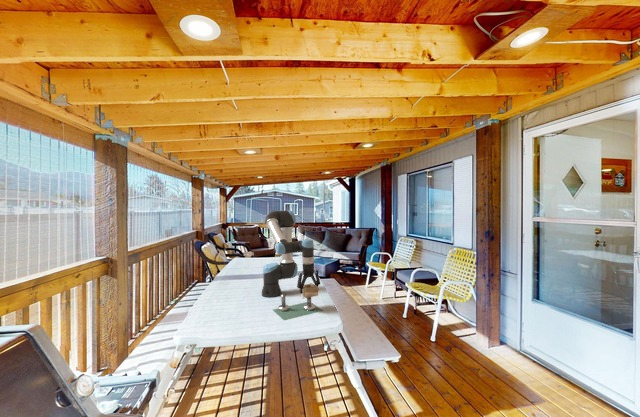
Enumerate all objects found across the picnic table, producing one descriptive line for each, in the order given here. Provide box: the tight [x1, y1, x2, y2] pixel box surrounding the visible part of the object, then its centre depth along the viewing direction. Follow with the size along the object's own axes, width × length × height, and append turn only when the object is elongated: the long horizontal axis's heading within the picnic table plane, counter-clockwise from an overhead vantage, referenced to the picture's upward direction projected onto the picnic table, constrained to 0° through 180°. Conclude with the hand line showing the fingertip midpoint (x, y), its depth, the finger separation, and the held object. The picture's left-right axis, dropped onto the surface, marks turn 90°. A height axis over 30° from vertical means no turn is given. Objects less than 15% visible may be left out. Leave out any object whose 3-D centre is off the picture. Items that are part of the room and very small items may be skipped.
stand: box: [277, 293, 290, 312], centre depth 191 cm, size 7×7×10 cm
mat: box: [272, 301, 324, 321], centre depth 190 cm, size 20×28×1 cm
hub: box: [303, 297, 316, 311], centre depth 191 cm, size 8×8×8 cm
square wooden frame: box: [299, 283, 319, 299], centre depth 191 cm, size 9×9×6 cm
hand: (309, 296), depth 191 cm, fingers closed on square wooden frame, 9 cm apart
